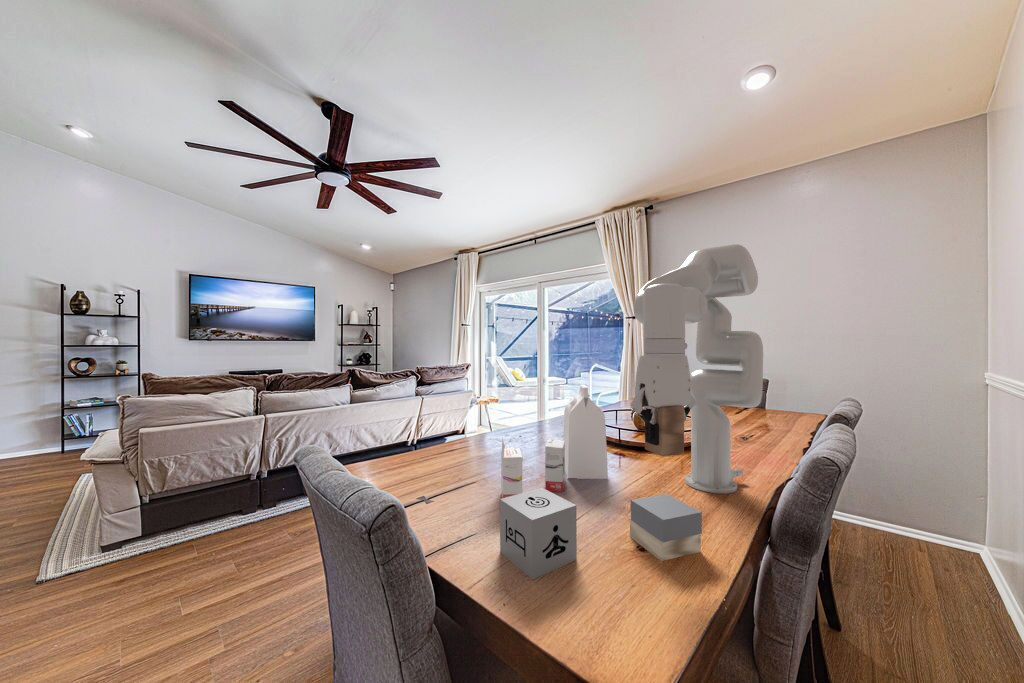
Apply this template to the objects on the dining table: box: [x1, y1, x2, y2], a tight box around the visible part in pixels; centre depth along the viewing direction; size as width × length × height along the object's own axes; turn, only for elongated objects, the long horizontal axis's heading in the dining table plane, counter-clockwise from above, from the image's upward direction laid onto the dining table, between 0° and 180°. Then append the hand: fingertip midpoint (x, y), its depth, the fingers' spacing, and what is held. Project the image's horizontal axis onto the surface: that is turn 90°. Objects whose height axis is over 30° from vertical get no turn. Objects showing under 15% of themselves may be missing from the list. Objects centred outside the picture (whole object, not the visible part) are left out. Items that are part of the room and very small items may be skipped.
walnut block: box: [644, 406, 685, 457], centre depth 73 cm, size 5×5×9 cm
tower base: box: [629, 518, 702, 562], centre depth 73 cm, size 9×9×4 cm
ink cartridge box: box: [500, 437, 524, 499], centre depth 94 cm, size 9×5×15 cm, turn 5°
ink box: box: [544, 438, 566, 493], centre depth 103 cm, size 9×5×12 cm, turn 168°
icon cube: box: [499, 487, 578, 581], centre depth 69 cm, size 10×10×10 cm
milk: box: [563, 384, 609, 480], centre depth 114 cm, size 12×12×26 cm
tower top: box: [630, 493, 703, 542], centre depth 73 cm, size 9×9×4 cm
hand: (664, 441), depth 73 cm, fingers closed on walnut block, 5 cm apart
